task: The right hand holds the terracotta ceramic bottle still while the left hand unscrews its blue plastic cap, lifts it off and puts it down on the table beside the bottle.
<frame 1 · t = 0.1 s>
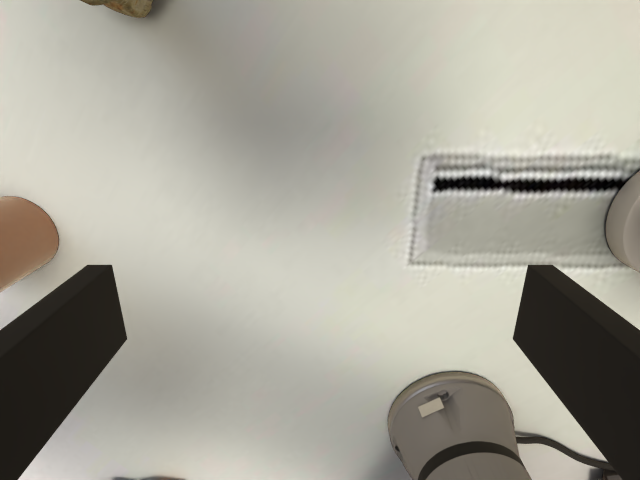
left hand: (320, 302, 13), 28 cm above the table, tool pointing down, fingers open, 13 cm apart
bottle: (19, 233, 42), on the table
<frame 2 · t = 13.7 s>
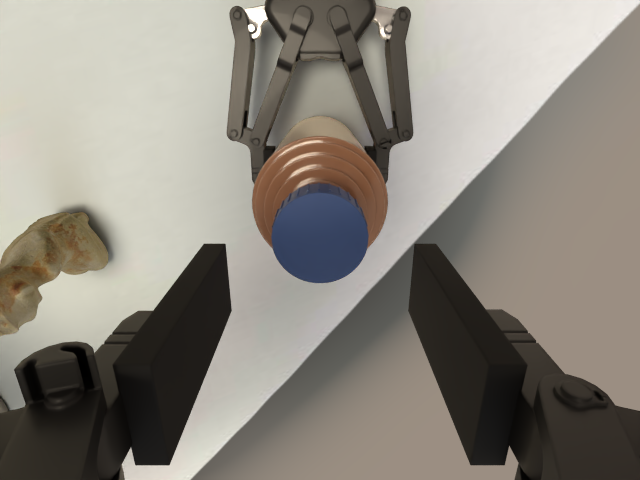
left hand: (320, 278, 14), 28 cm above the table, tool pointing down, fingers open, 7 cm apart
right hand: (319, 219, 36), fingers closed on bottle, 8 cm apart
sculpture: (85, 236, 44), on the table
bottle: (319, 156, 41), on the table, touching right hand
cap: (319, 237, 18), point 24 cm above the table, screwed on, not yet turned
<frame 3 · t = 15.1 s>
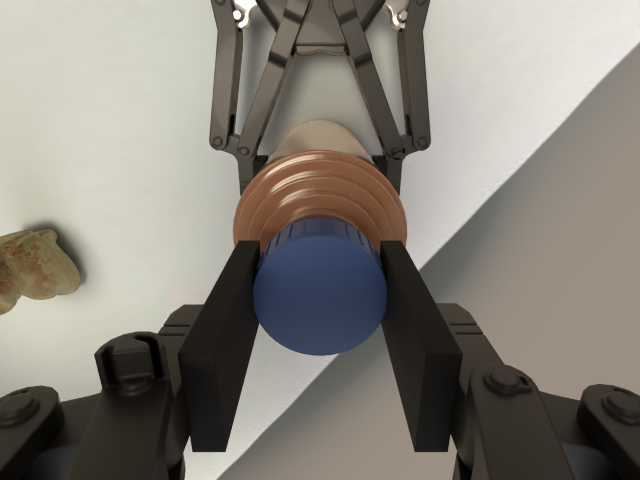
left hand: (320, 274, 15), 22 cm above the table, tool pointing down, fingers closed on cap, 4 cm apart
right hand: (319, 240, 31), fingers closed on bottle, 8 cm apart
sculpture: (54, 255, 39), on the table
bottle: (320, 166, 35), on the table, touching right hand
cap: (320, 295, 13), point 24 cm above the table, screwed on, not yet turned, touching left hand
when the left hand's fingers open (1 cm above the table, at t = 33.3 s): cap drops 2 cm, point 2 cm above the table.
when the right hand's fingers open (6 cm above the table, at t = 34.6 s): bottle stays where it is, on the table.
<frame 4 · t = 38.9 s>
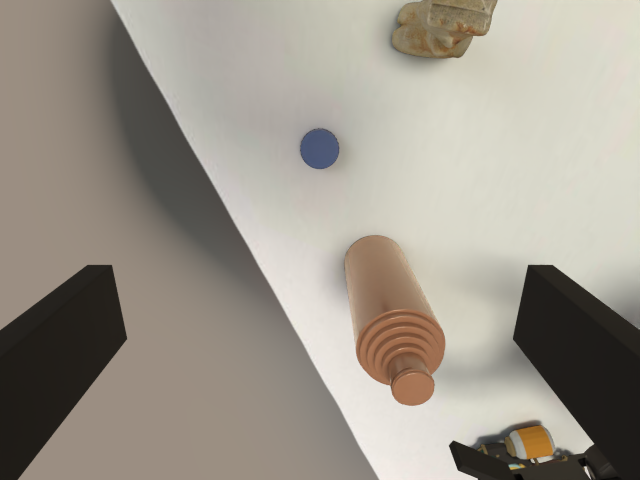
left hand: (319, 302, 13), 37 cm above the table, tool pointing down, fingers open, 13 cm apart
sculpture: (424, 35, 43), on the table
spray gun: (520, 456, 65), on the table
bottle: (374, 263, 53), on the table
cap: (319, 149, 46), point 2 cm above the table, off its thread
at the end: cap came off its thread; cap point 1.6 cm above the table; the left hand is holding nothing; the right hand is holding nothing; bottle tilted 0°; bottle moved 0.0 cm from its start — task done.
